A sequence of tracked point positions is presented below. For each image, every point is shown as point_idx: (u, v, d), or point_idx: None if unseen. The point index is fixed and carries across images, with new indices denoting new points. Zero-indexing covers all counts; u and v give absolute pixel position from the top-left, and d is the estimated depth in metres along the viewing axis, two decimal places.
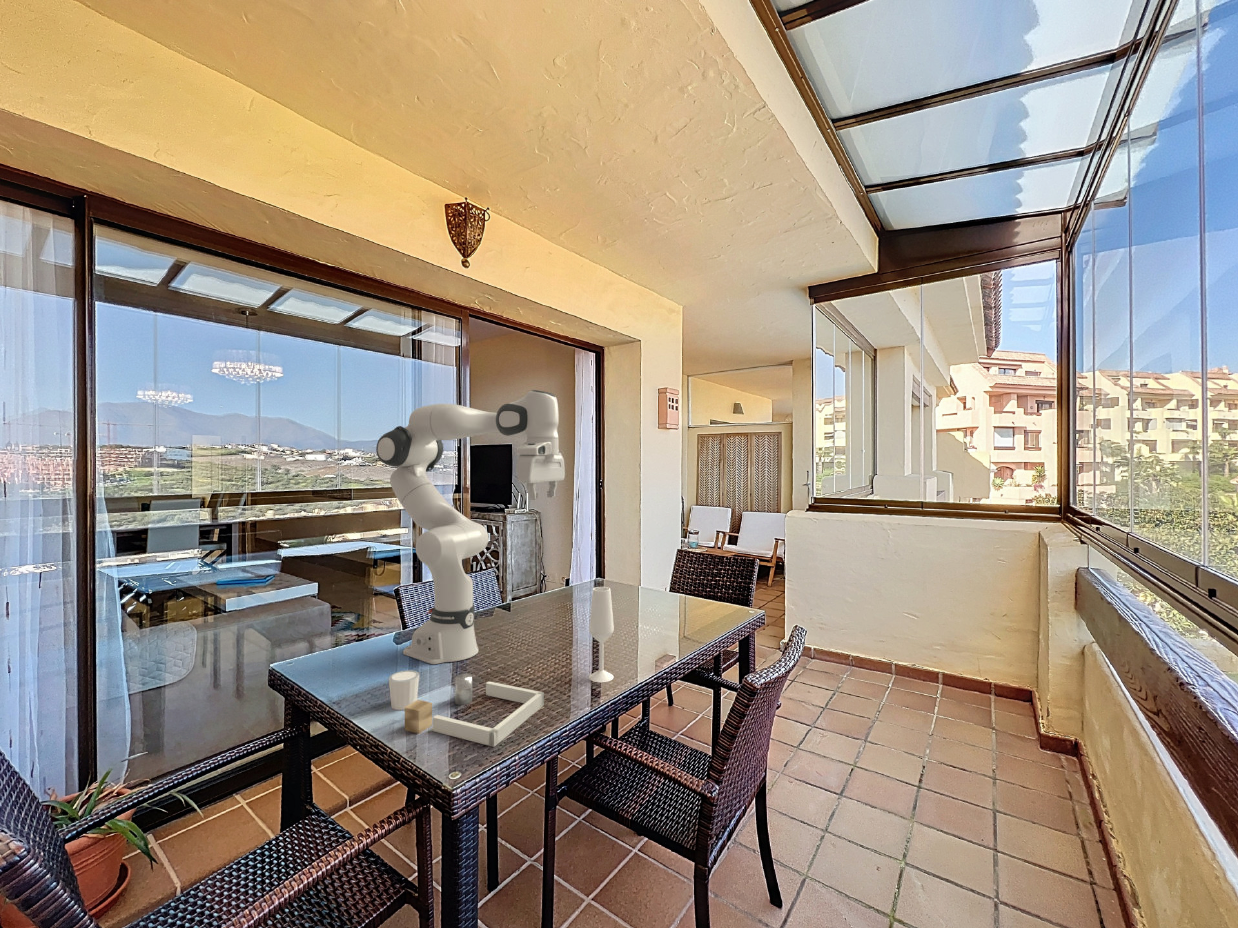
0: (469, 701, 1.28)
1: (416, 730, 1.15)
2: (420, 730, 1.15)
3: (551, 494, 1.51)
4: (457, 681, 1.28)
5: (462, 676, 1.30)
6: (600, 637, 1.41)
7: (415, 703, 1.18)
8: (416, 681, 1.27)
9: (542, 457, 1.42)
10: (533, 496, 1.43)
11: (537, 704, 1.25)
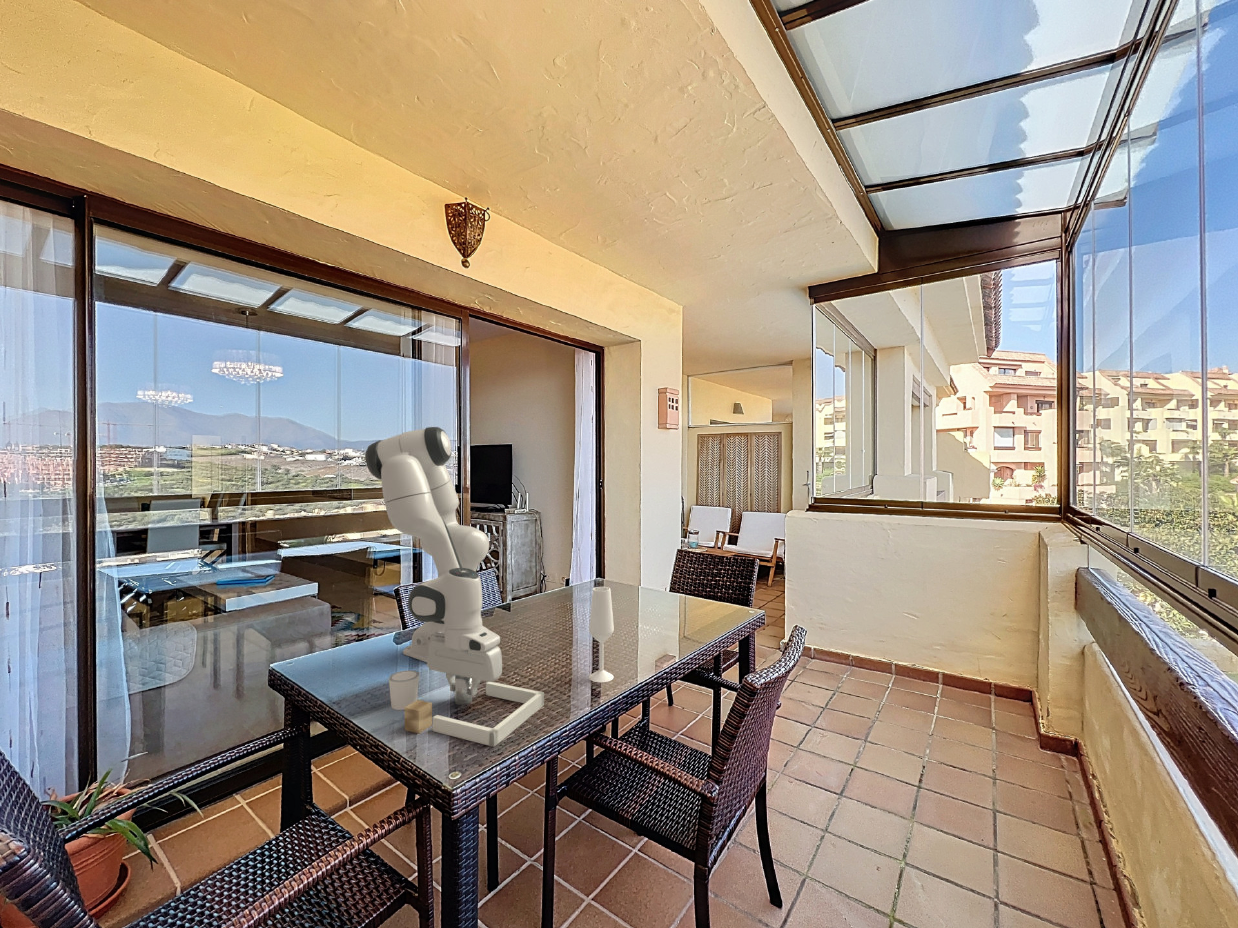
0: (469, 701, 1.28)
1: (416, 730, 1.15)
2: (420, 730, 1.15)
3: None
4: (457, 681, 1.28)
5: None
6: (600, 637, 1.41)
7: (415, 703, 1.18)
8: (416, 681, 1.27)
9: None
10: (476, 690, 1.29)
11: (537, 704, 1.25)
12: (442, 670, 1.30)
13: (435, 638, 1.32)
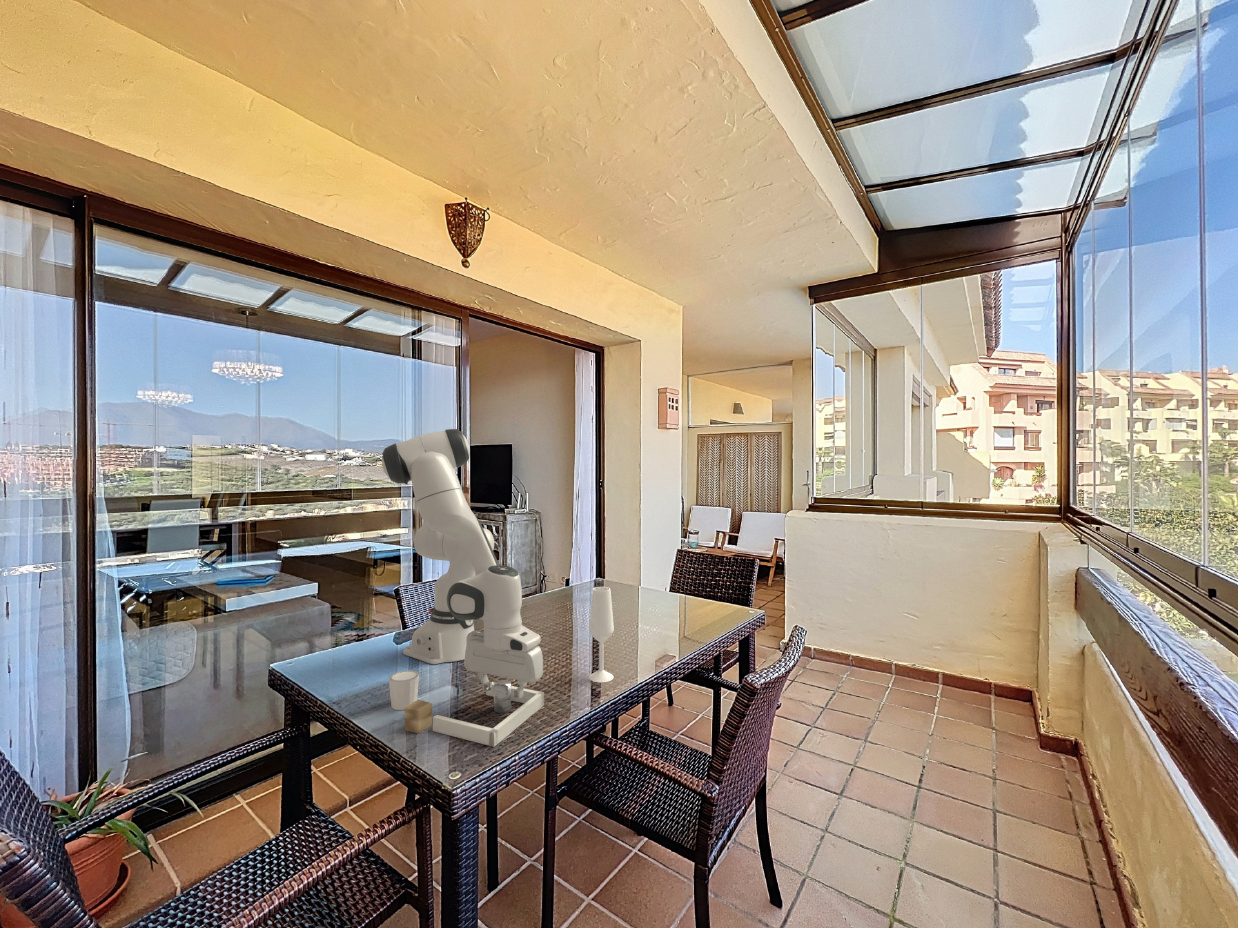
0: (508, 708, 1.25)
1: (416, 730, 1.15)
2: (420, 730, 1.15)
3: (490, 686, 1.28)
4: (496, 688, 1.24)
5: (501, 682, 1.26)
6: (600, 637, 1.41)
7: (415, 703, 1.18)
8: (416, 681, 1.27)
9: None
10: (522, 692, 1.24)
11: (537, 704, 1.25)
12: (480, 670, 1.26)
13: (472, 637, 1.28)
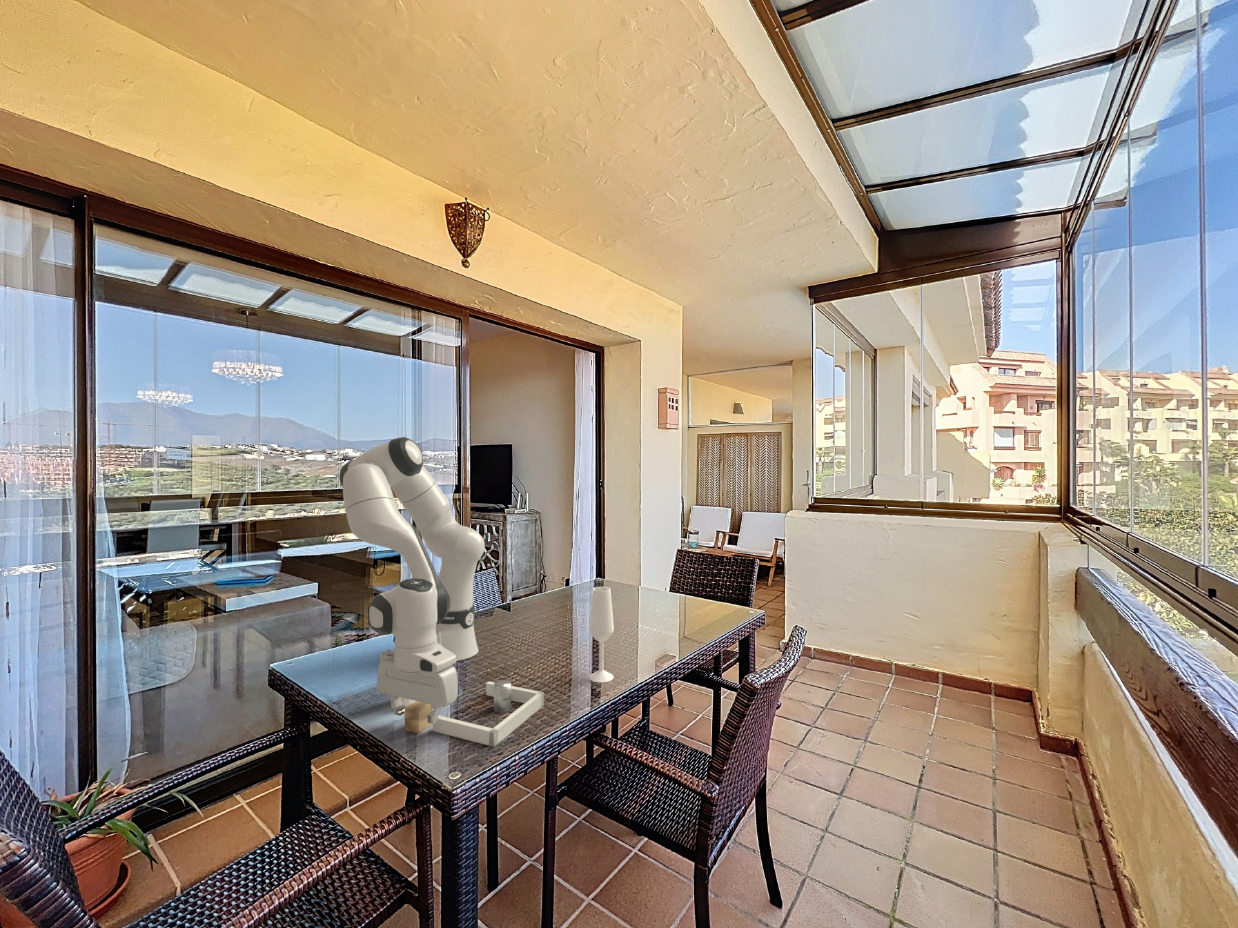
0: (508, 708, 1.25)
1: (416, 730, 1.15)
2: (420, 730, 1.15)
3: (403, 709, 1.18)
4: (496, 688, 1.24)
5: (501, 682, 1.26)
6: (600, 637, 1.41)
7: (415, 703, 1.18)
8: None
9: None
10: (437, 717, 1.14)
11: (537, 704, 1.25)
12: (392, 693, 1.16)
13: (386, 657, 1.19)
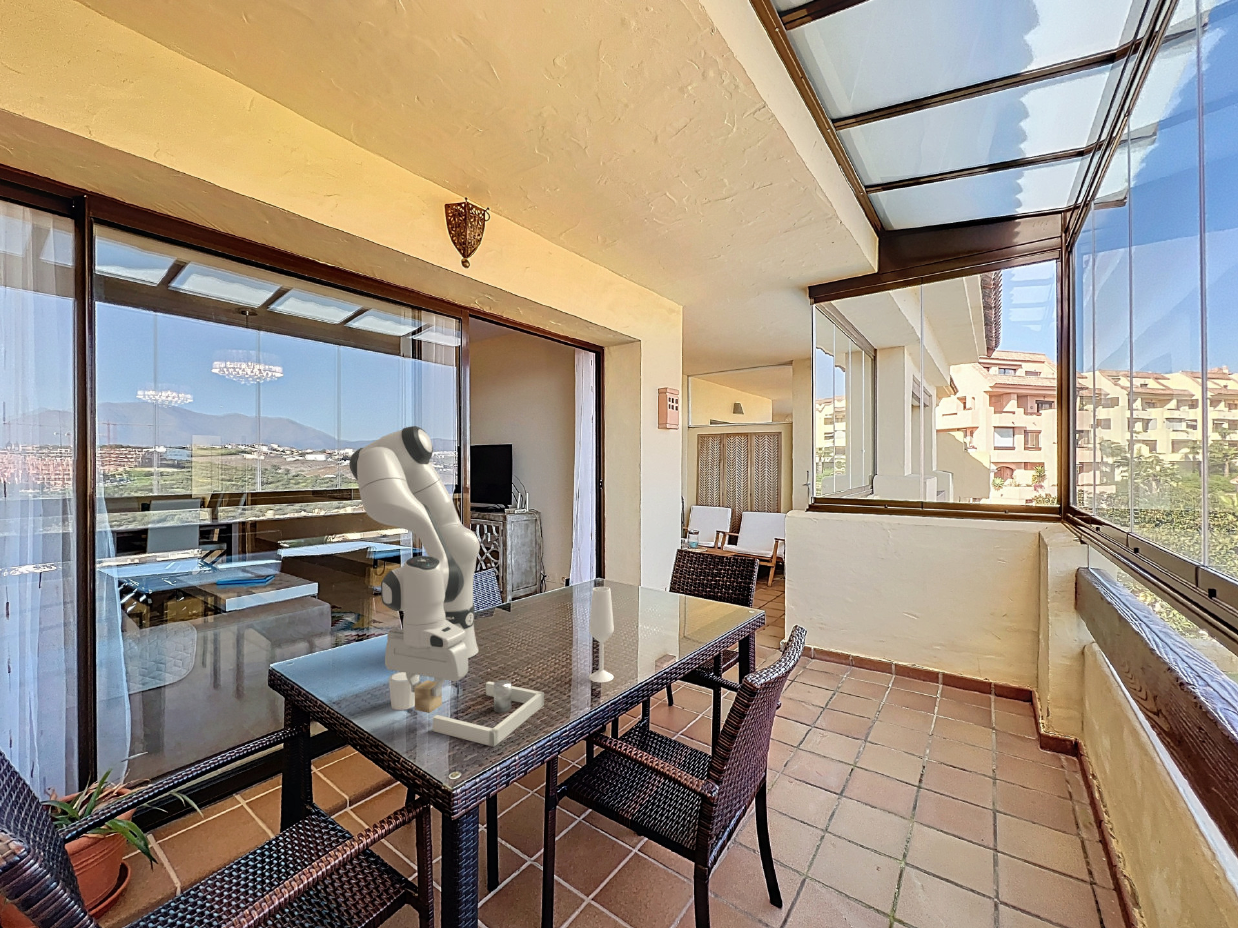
0: (508, 708, 1.25)
1: (426, 709, 1.16)
2: (430, 709, 1.16)
3: None
4: (496, 688, 1.24)
5: (501, 682, 1.26)
6: (600, 637, 1.41)
7: (425, 683, 1.19)
8: None
9: None
10: (440, 690, 1.17)
11: (537, 704, 1.25)
12: (402, 670, 1.17)
13: (393, 635, 1.20)
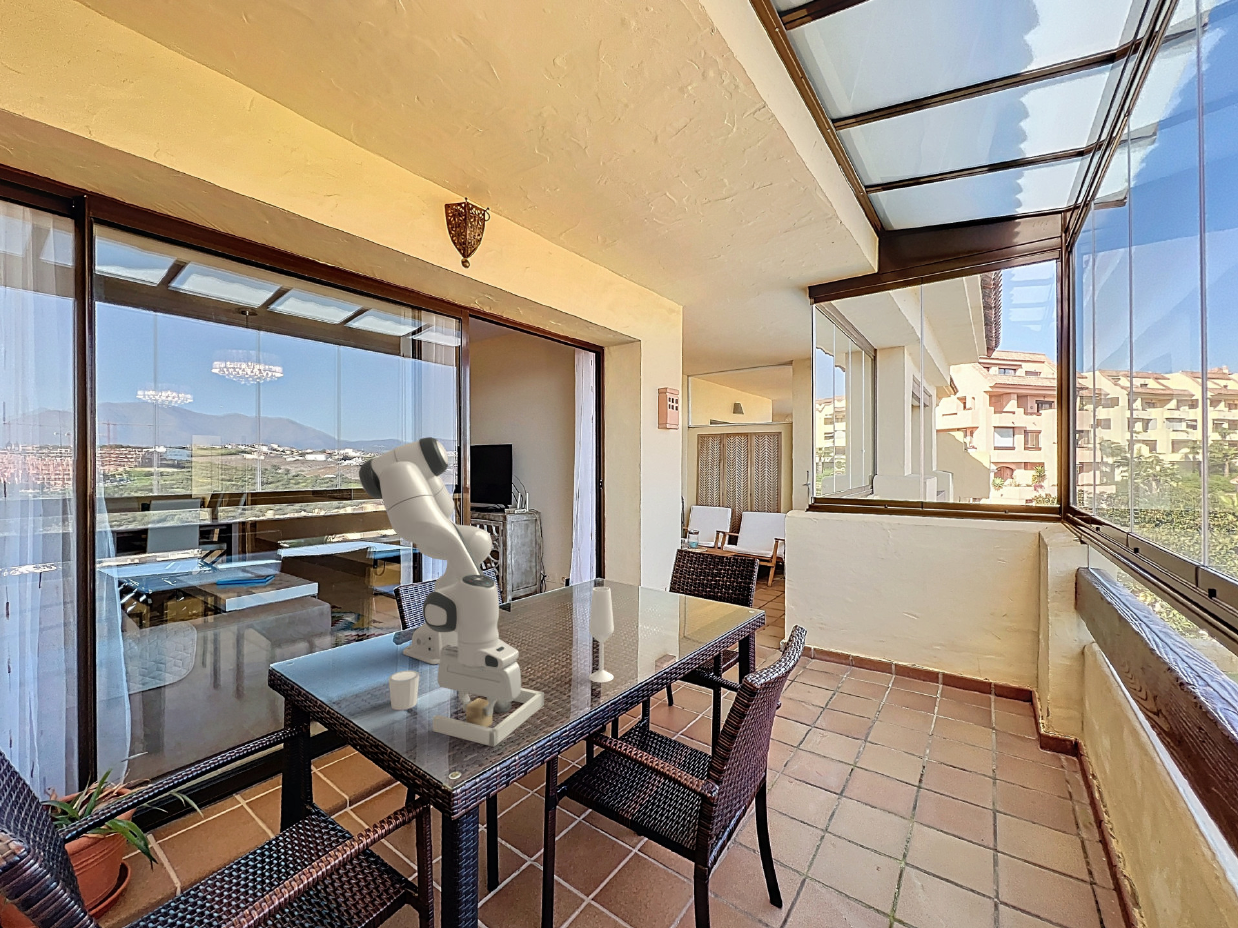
0: (508, 708, 1.25)
1: None
2: None
3: None
4: None
5: None
6: (600, 637, 1.41)
7: (476, 701, 1.19)
8: (416, 681, 1.27)
9: None
10: (492, 710, 1.16)
11: (537, 704, 1.25)
12: (454, 688, 1.17)
13: (446, 652, 1.20)
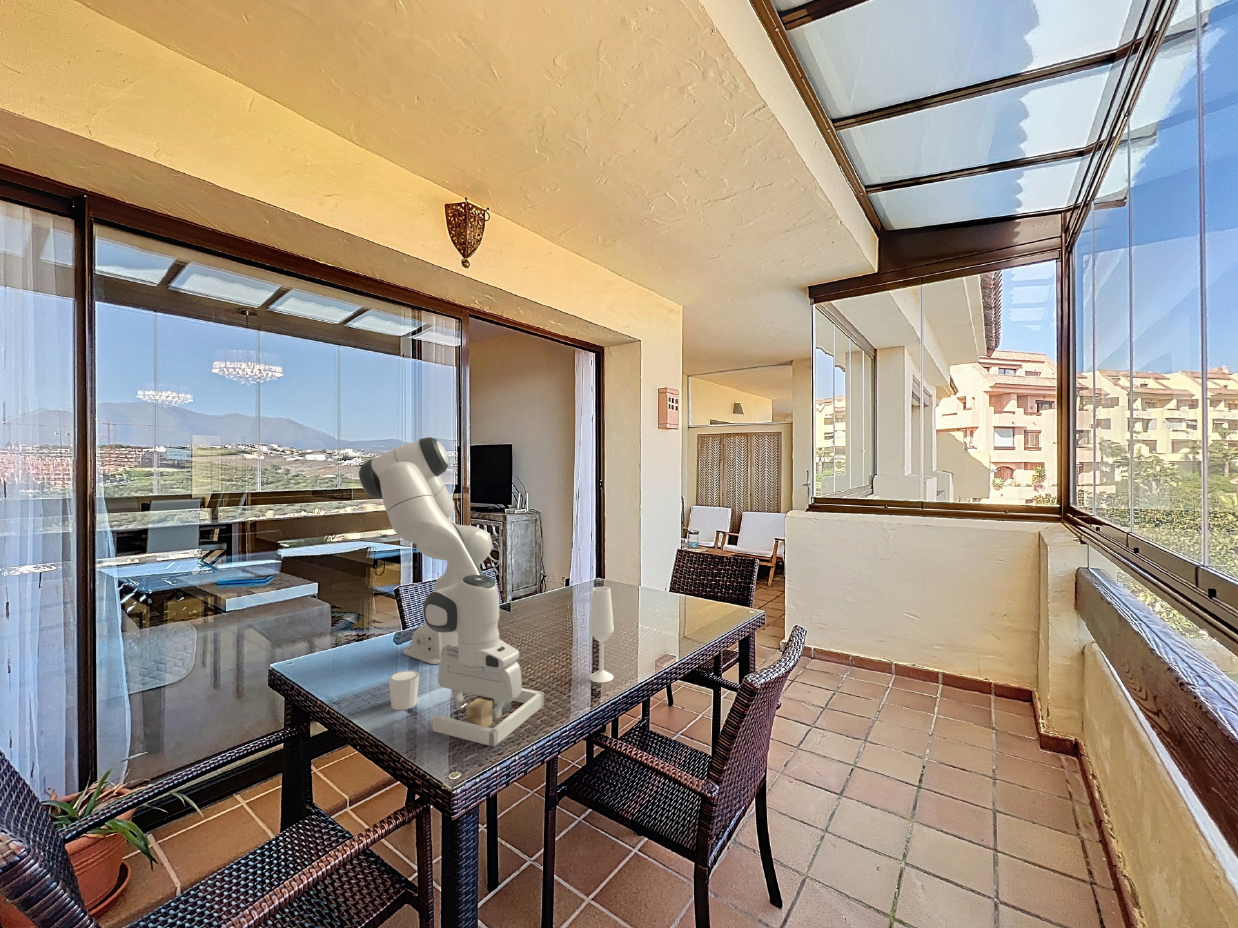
0: (508, 708, 1.25)
1: None
2: None
3: (465, 704, 1.19)
4: None
5: None
6: (600, 637, 1.41)
7: (476, 701, 1.19)
8: (416, 681, 1.27)
9: None
10: (500, 712, 1.16)
11: (537, 704, 1.25)
12: (455, 688, 1.18)
13: (447, 652, 1.20)
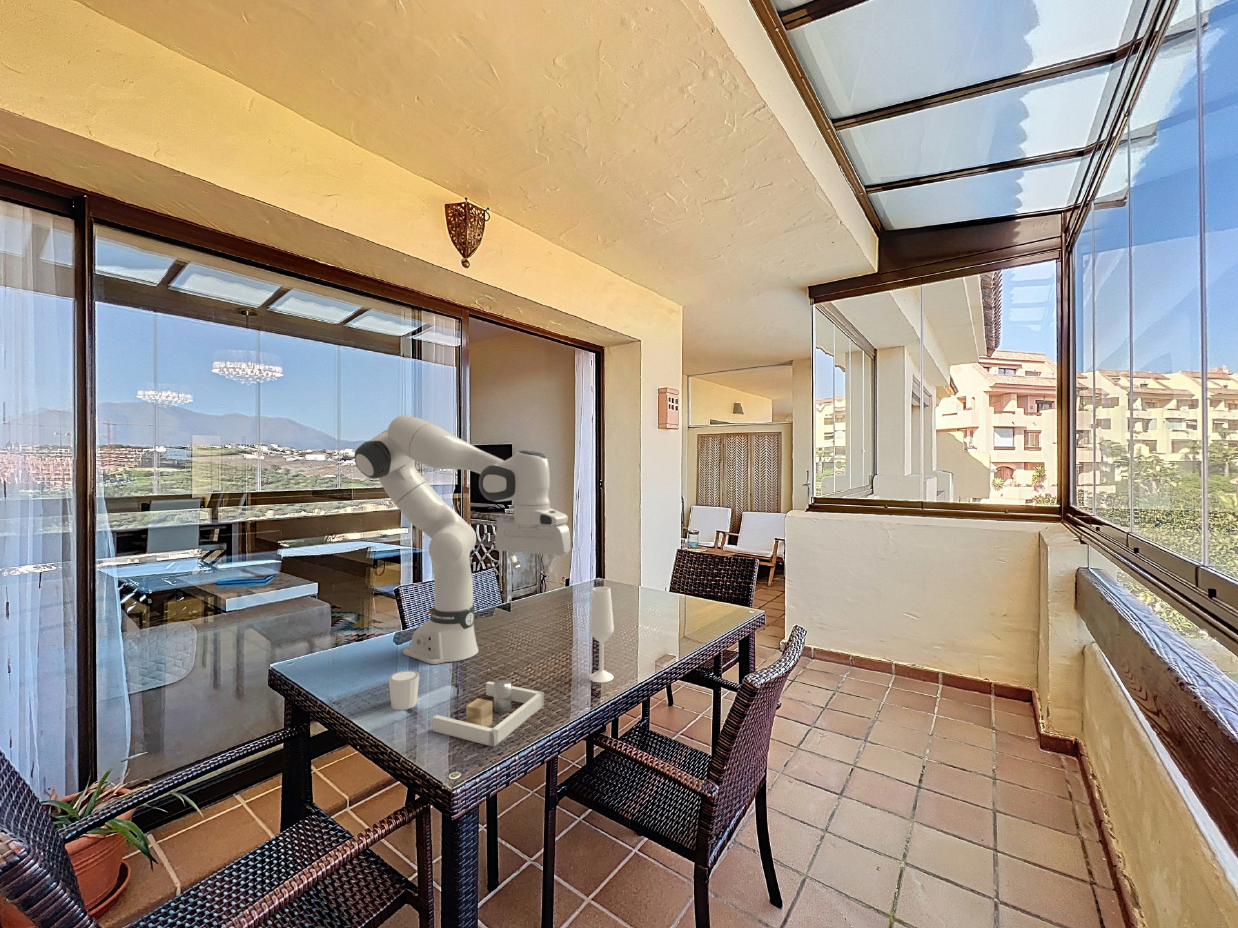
0: (508, 708, 1.25)
1: None
2: None
3: (519, 565, 1.35)
4: (496, 688, 1.24)
5: (501, 682, 1.26)
6: (600, 637, 1.41)
7: (476, 701, 1.19)
8: (416, 681, 1.27)
9: None
10: (551, 568, 1.32)
11: (537, 704, 1.25)
12: (511, 549, 1.33)
13: (503, 520, 1.36)
